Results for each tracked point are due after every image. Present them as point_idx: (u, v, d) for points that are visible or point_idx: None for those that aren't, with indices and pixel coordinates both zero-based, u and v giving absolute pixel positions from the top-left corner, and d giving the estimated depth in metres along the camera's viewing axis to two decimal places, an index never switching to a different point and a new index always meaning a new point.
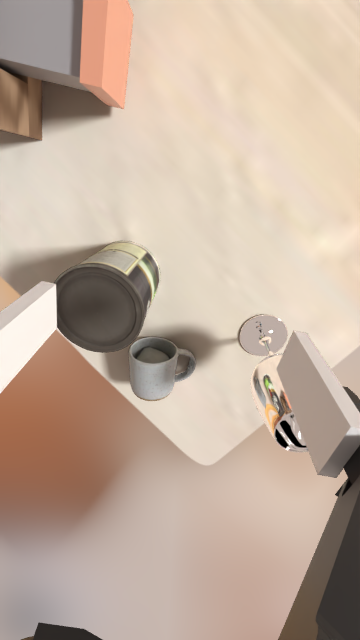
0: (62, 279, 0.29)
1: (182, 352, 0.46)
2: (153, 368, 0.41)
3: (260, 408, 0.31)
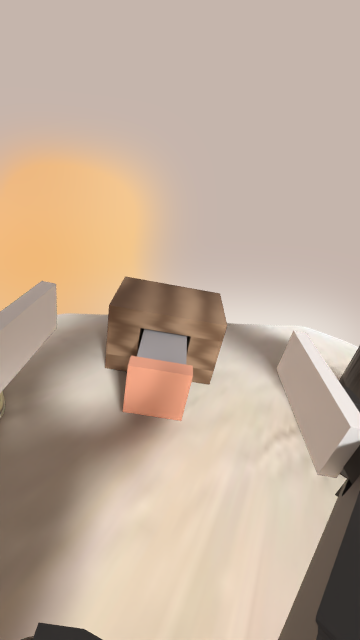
0: None
1: None
2: None
3: None
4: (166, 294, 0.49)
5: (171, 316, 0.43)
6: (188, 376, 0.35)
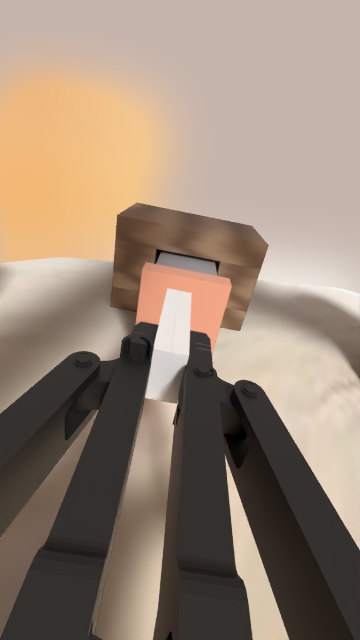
0: None
1: None
2: None
3: None
4: (188, 218, 0.40)
5: (196, 231, 0.33)
6: (225, 287, 0.25)
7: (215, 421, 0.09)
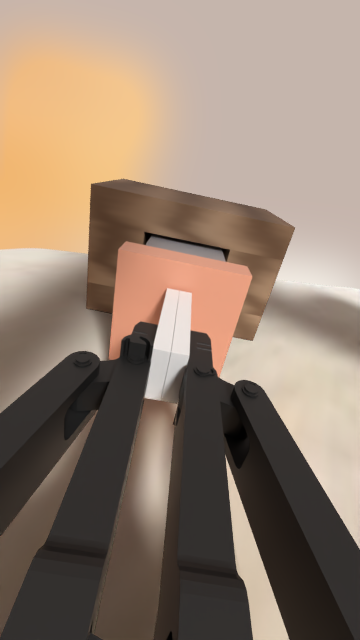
0: None
1: None
2: None
3: None
4: (187, 196, 0.31)
5: (198, 208, 0.25)
6: (243, 278, 0.17)
7: (215, 421, 0.09)
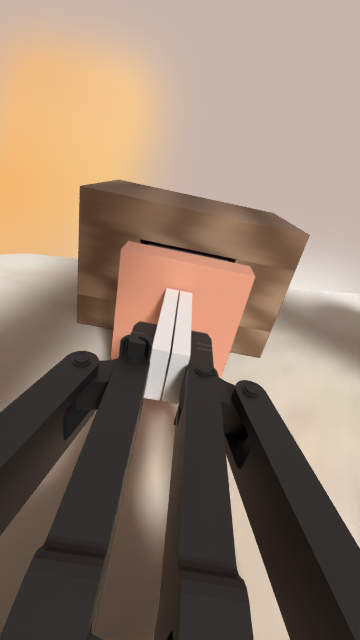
0: None
1: None
2: None
3: None
4: (188, 199, 0.28)
5: (200, 213, 0.22)
6: (245, 278, 0.17)
7: (216, 421, 0.09)
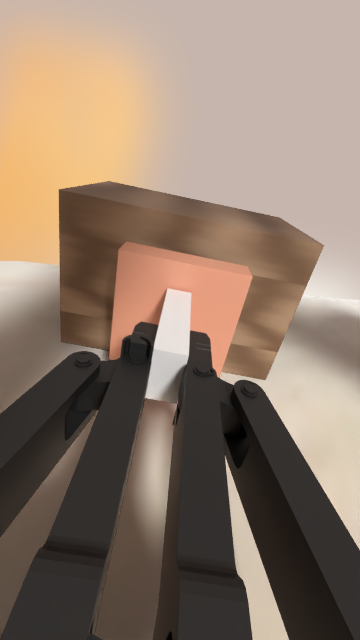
0: None
1: None
2: None
3: None
4: (185, 202, 0.25)
5: (199, 220, 0.19)
6: (243, 278, 0.17)
7: (215, 421, 0.09)
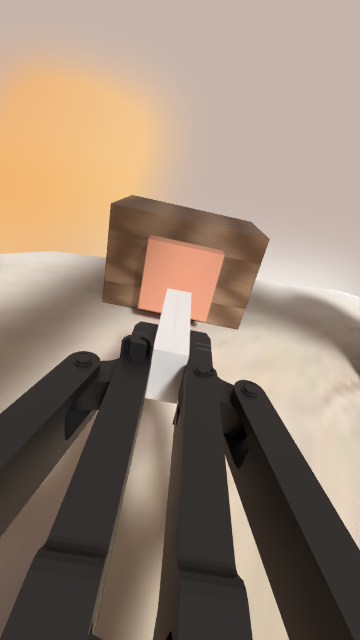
0: None
1: None
2: None
3: None
4: (185, 211, 0.38)
5: (194, 223, 0.32)
6: (219, 256, 0.29)
7: (215, 421, 0.09)
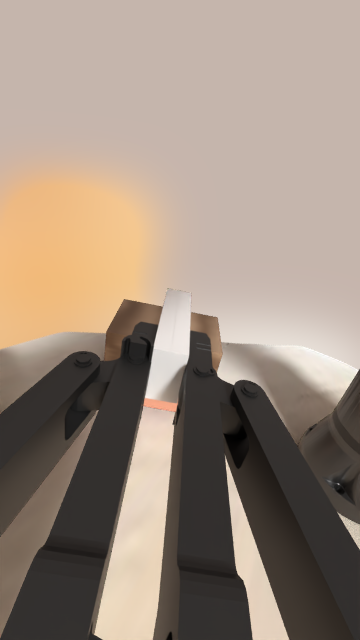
0: None
1: None
2: None
3: None
4: None
5: None
6: None
7: (215, 421, 0.09)
